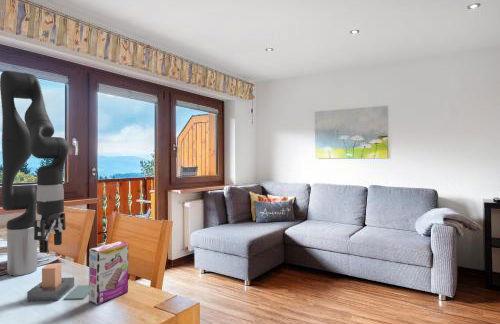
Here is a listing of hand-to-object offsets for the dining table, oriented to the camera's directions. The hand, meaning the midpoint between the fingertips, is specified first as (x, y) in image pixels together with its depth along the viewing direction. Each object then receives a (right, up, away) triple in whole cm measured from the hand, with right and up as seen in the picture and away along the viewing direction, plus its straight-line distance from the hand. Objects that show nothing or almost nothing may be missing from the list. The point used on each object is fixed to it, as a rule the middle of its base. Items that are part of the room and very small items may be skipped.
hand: (51, 248), depth 104 cm
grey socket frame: (0, -15, +1) cm, 15 cm away
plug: (0, -15, +1) cm, 15 cm away
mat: (+9, -15, +1) cm, 17 cm away
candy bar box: (+20, -15, -2) cm, 25 cm away
